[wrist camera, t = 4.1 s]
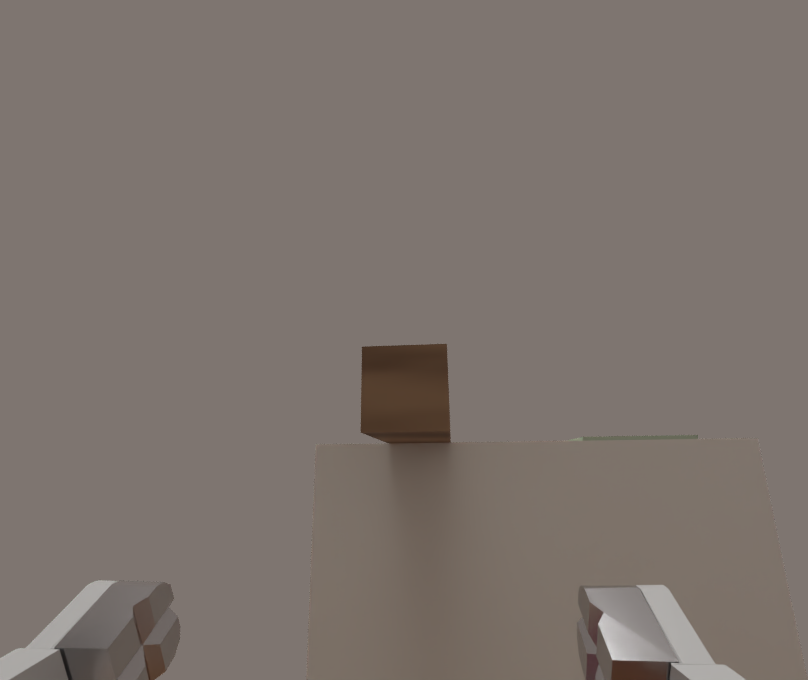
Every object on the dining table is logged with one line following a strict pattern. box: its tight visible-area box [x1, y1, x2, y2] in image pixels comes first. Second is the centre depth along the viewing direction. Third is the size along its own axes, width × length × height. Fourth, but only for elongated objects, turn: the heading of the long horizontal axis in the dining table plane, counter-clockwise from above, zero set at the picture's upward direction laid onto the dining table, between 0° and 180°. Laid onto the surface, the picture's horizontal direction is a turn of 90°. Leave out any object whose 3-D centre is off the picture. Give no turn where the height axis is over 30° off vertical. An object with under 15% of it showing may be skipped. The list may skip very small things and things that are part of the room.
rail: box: [361, 344, 451, 443], centre depth 29 cm, size 22×4×4 cm, turn 174°
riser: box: [306, 435, 808, 680], centre depth 30 cm, size 15×24×26 cm, turn 84°
